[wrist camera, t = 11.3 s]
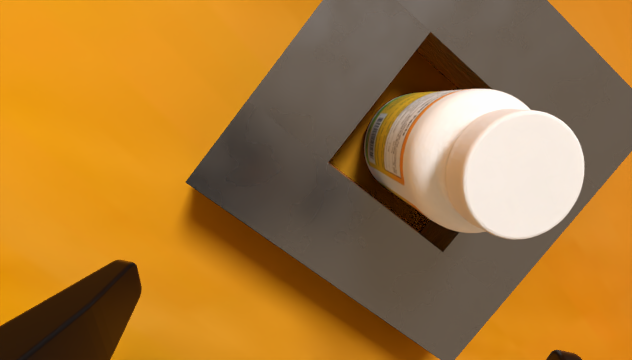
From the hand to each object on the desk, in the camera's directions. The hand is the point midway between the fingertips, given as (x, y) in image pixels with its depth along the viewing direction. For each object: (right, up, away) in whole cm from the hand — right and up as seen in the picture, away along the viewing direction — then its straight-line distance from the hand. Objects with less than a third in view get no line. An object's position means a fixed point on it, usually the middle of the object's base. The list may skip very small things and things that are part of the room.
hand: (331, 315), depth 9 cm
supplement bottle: (+5, +5, +13) cm, 15 cm away
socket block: (+5, +5, +13) cm, 15 cm away
